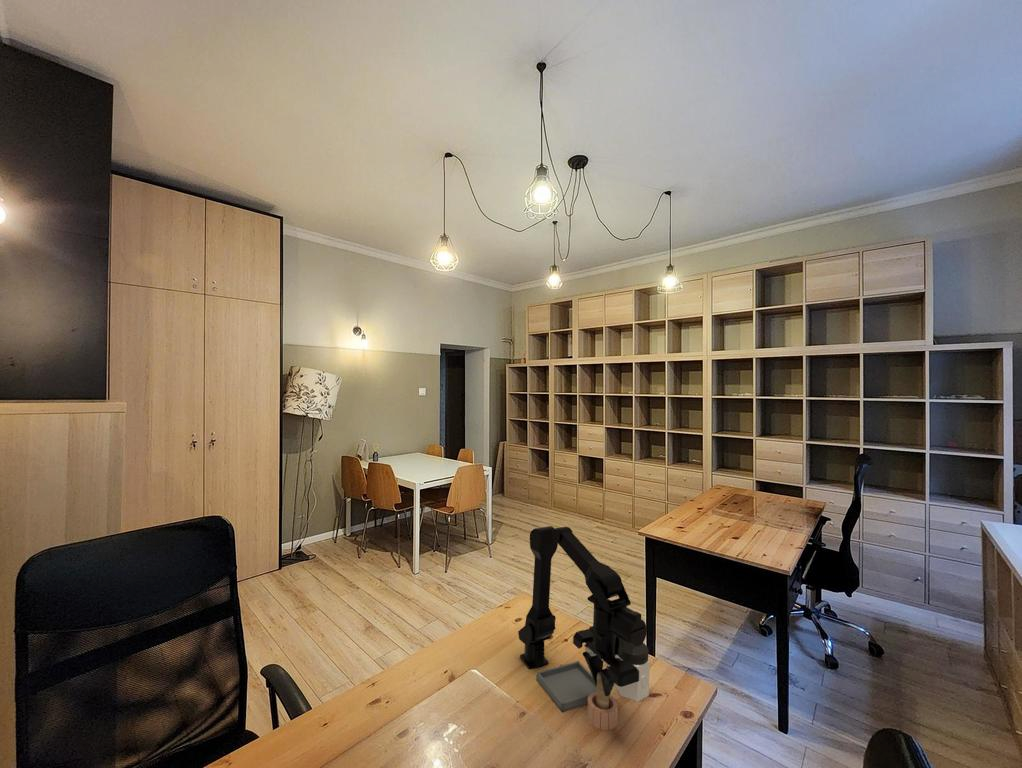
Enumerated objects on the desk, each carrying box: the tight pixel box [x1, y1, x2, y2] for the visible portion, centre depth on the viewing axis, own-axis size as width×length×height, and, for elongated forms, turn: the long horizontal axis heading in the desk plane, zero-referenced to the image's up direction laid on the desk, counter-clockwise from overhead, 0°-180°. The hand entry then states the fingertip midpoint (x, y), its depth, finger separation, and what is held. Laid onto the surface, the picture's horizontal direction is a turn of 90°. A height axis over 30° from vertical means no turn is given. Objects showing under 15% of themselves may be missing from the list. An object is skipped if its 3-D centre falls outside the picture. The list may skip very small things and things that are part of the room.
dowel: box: [596, 672, 609, 710], centre depth 99 cm, size 3×3×10 cm
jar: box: [614, 642, 651, 703], centre depth 110 cm, size 9×8×12 cm
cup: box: [586, 692, 619, 731], centre depth 99 cm, size 7×7×4 cm
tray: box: [535, 660, 597, 713], centre depth 110 cm, size 13×14×2 cm
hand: (602, 691), depth 100 cm, fingers closed on dowel, 3 cm apart
